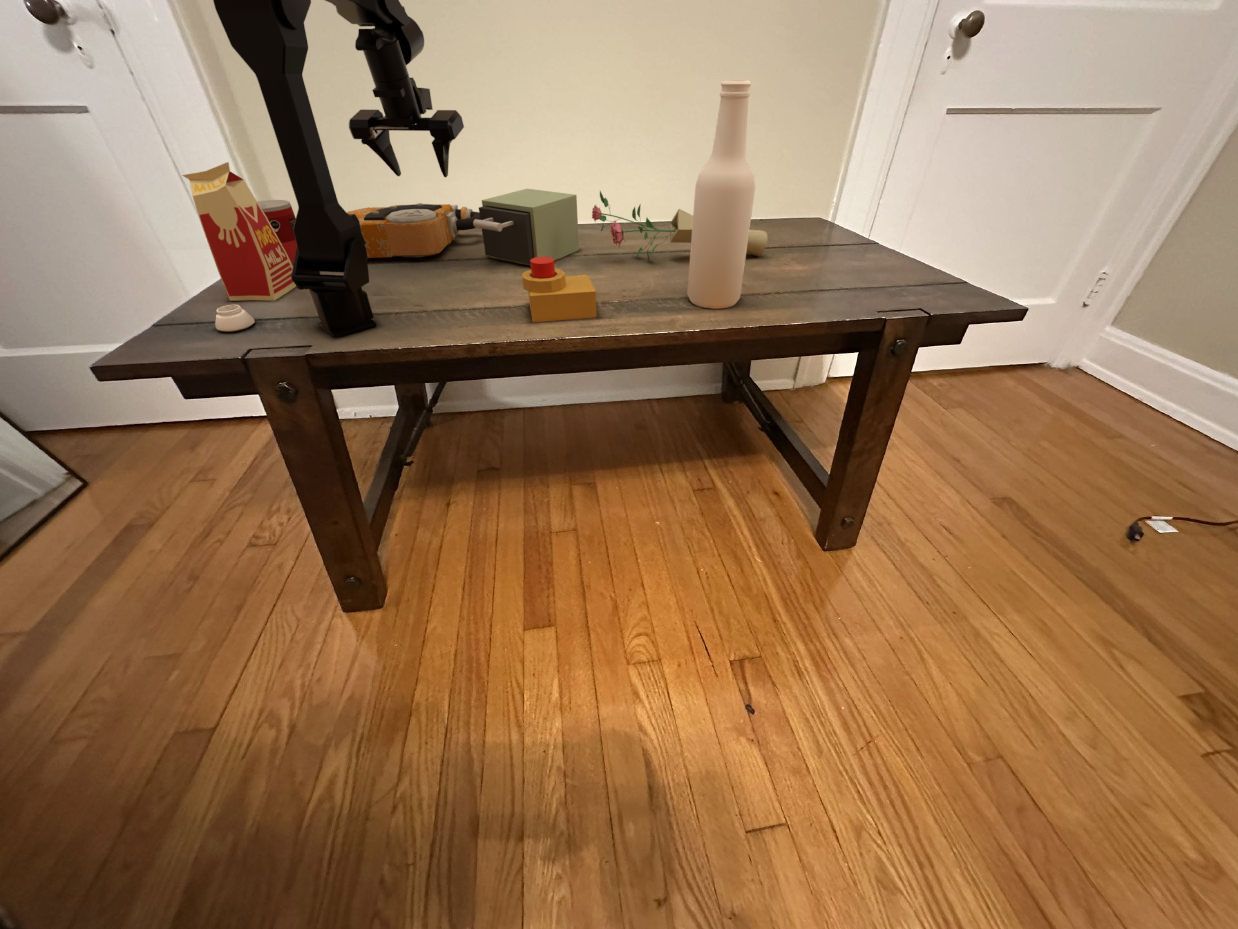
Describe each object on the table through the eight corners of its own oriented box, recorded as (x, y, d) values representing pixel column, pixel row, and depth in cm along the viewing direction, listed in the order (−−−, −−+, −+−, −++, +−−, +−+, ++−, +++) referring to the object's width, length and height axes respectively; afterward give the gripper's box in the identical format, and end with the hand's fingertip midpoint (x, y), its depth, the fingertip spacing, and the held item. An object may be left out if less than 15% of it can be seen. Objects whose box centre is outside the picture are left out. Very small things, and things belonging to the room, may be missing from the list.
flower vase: (749, 297, 112) (586, 268, 102) (736, 262, 119) (583, 233, 109) (776, 246, 102) (601, 210, 93) (760, 212, 110) (596, 175, 100)
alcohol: (699, 312, 85) (720, 81, 67) (679, 294, 92) (693, 80, 74) (748, 306, 87) (782, 81, 69) (725, 289, 94) (750, 79, 76)
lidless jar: (216, 325, 81) (219, 336, 78) (207, 306, 80) (210, 317, 76) (253, 318, 84) (257, 328, 80) (245, 299, 82) (249, 309, 79)
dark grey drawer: (514, 270, 99) (507, 219, 94) (468, 261, 104) (460, 212, 99) (568, 248, 111) (565, 202, 106) (525, 240, 116) (521, 196, 111)
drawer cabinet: (538, 267, 104) (532, 207, 98) (489, 257, 109) (481, 200, 103) (579, 250, 113) (576, 194, 107) (532, 242, 119) (527, 188, 112)
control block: (527, 323, 82) (523, 284, 78) (524, 304, 88) (520, 267, 84) (596, 317, 84) (595, 279, 80) (589, 299, 90) (587, 263, 86)
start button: (532, 281, 80) (530, 264, 79) (531, 274, 83) (529, 257, 82) (556, 279, 81) (555, 262, 79) (554, 272, 84) (552, 255, 82)
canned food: (257, 266, 105) (233, 206, 98) (293, 256, 110) (273, 198, 104) (282, 272, 102) (259, 210, 95) (318, 261, 108) (298, 201, 101)
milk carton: (301, 282, 97) (255, 157, 85) (276, 301, 90) (223, 166, 78) (250, 283, 97) (197, 158, 85) (222, 301, 90) (159, 167, 77)
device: (349, 196, 119) (483, 194, 120) (360, 235, 124) (489, 233, 125) (305, 220, 101) (464, 217, 102) (320, 264, 106) (471, 262, 107)
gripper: (460, 59, 90) (483, 157, 103) (358, 60, 92) (392, 155, 105) (438, 83, 84) (465, 184, 96) (328, 83, 86) (369, 182, 98)
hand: (422, 175), depth 99 cm, fingers open, 9 cm apart
